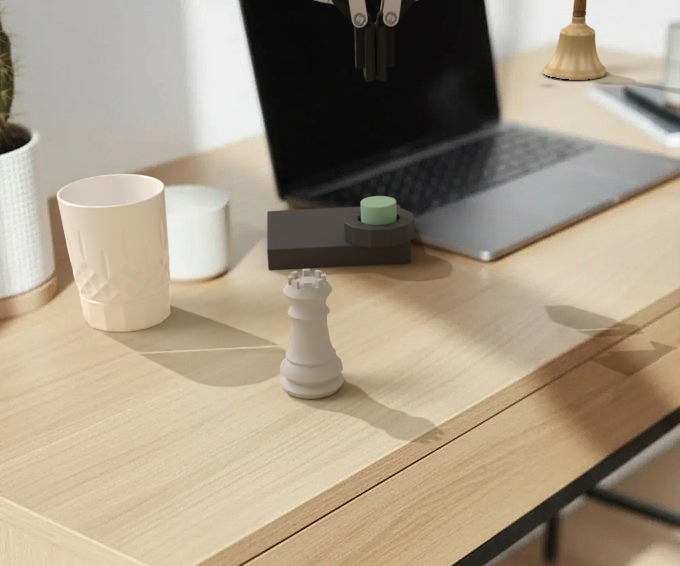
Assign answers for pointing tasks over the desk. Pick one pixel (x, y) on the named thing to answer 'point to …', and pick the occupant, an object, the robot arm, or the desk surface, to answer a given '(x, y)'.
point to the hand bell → (576, 50)
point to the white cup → (118, 249)
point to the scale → (336, 239)
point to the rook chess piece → (310, 339)
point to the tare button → (378, 210)
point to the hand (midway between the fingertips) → (374, 76)
